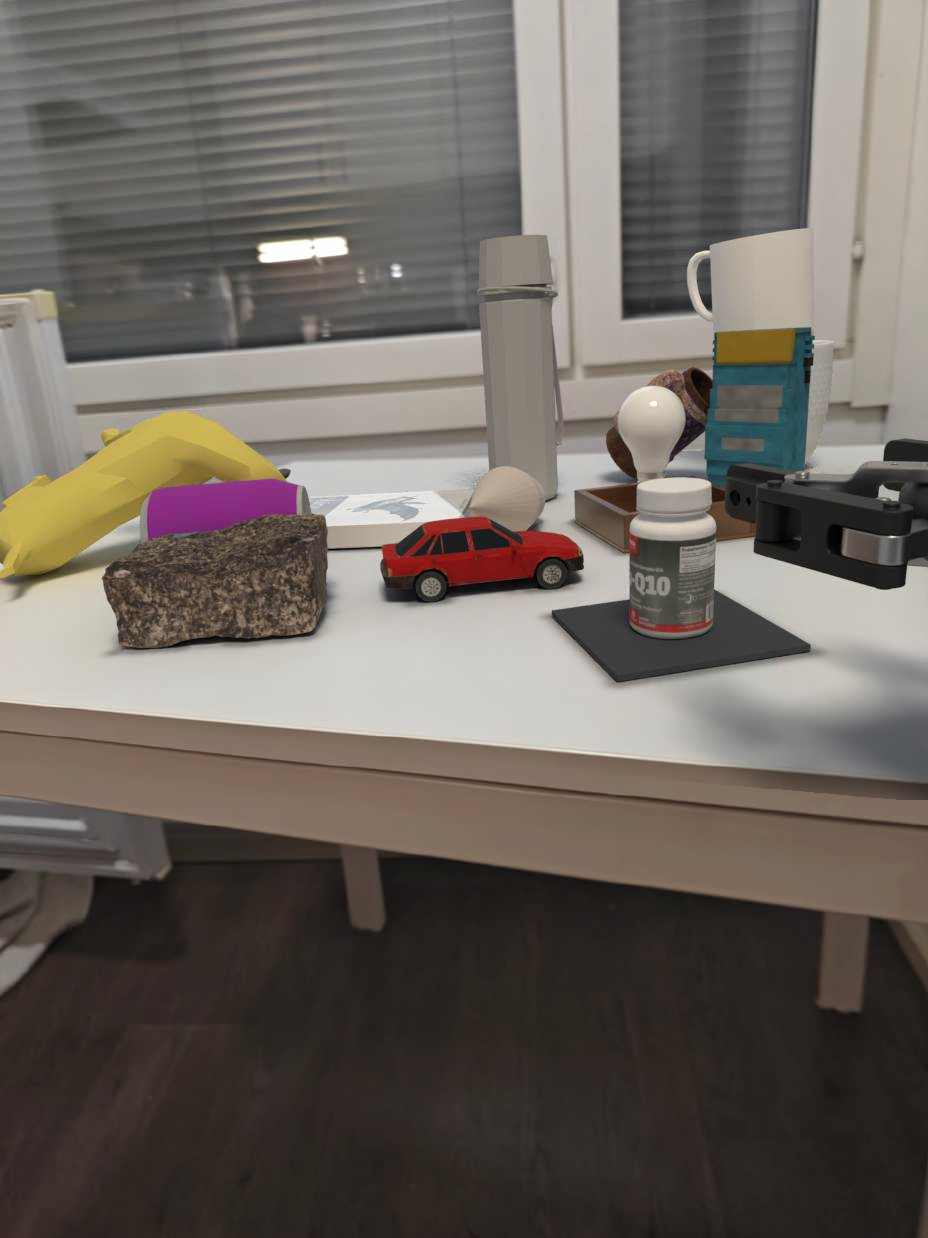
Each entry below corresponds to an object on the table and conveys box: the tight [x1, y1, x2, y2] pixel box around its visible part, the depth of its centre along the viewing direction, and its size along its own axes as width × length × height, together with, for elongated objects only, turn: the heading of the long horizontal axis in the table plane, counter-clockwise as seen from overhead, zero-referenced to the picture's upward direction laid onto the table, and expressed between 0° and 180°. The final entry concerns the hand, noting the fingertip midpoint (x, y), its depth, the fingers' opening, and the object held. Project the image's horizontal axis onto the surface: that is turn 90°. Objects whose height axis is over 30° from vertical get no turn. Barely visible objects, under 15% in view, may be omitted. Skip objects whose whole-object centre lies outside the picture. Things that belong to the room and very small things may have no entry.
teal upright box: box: [704, 327, 816, 487], centre depth 81 cm, size 10×4×15 cm, turn 43°
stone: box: [101, 513, 329, 649], centre depth 57 cm, size 11×13×6 cm
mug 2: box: [686, 227, 815, 338], centre depth 88 cm, size 13×10×10 cm
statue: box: [0, 410, 288, 579], centre depth 74 cm, size 27×13×20 cm
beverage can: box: [139, 478, 311, 544], centre depth 66 cm, size 8×8×12 cm
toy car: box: [379, 516, 585, 603], centre depth 60 cm, size 6×14×5 cm, turn 98°
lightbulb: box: [617, 385, 686, 483], centre depth 81 cm, size 6×6×11 cm
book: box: [308, 488, 475, 549], centre depth 79 cm, size 23×14×2 cm, turn 83°
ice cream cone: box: [470, 466, 546, 532], centre depth 72 cm, size 6×6×15 cm
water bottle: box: [475, 234, 565, 502], centre depth 85 cm, size 9×8×25 cm
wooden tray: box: [573, 475, 756, 554], centre depth 72 cm, size 12×12×3 cm
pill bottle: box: [628, 476, 717, 639], centre depth 48 cm, size 5×5×8 cm
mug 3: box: [805, 339, 835, 465], centre depth 94 cm, size 15×11×13 cm
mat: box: [551, 588, 812, 683], centre depth 49 cm, size 11×11×1 cm
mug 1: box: [605, 366, 713, 481], centre depth 89 cm, size 10×7×12 cm
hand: (813, 475), depth 37 cm, fingers open, 8 cm apart
